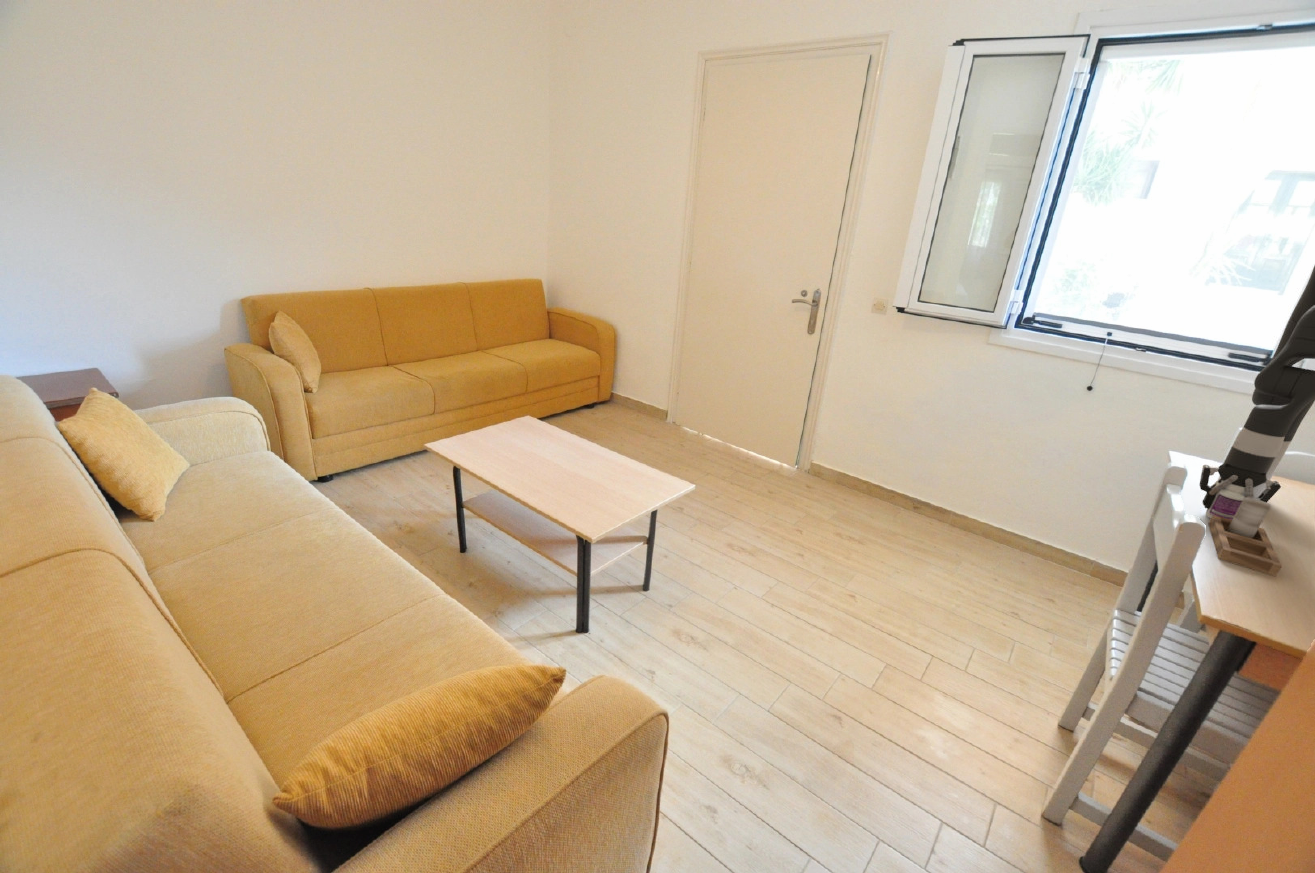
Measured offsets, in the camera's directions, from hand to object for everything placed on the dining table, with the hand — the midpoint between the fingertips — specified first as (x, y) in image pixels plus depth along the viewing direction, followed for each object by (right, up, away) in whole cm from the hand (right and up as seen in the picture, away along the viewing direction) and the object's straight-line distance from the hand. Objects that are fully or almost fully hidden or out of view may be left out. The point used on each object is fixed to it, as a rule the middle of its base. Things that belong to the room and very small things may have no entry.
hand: (1222, 511), depth 139 cm
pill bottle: (0, -2, +1) cm, 2 cm away
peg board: (-8, -7, -12) cm, 16 cm away
